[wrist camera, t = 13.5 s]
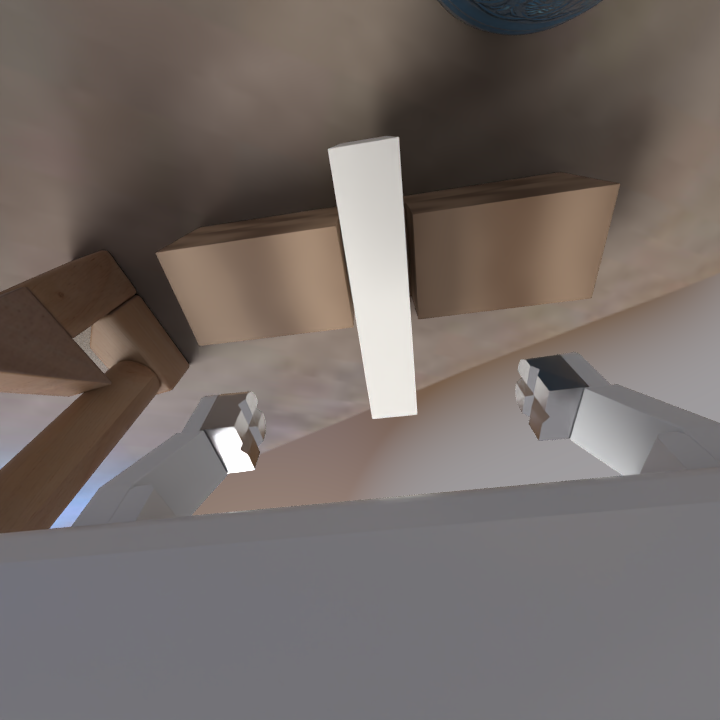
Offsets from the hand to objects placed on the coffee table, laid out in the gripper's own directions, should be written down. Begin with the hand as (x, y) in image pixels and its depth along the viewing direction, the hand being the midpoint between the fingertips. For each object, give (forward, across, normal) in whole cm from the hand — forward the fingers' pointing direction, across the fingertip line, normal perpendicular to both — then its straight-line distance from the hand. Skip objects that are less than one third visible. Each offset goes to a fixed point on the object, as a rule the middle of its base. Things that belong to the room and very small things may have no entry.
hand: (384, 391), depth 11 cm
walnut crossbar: (+16, 0, 0) cm, 16 cm away
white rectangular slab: (+14, 0, 0) cm, 14 cm away
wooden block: (+17, +20, +3) cm, 26 cm away
